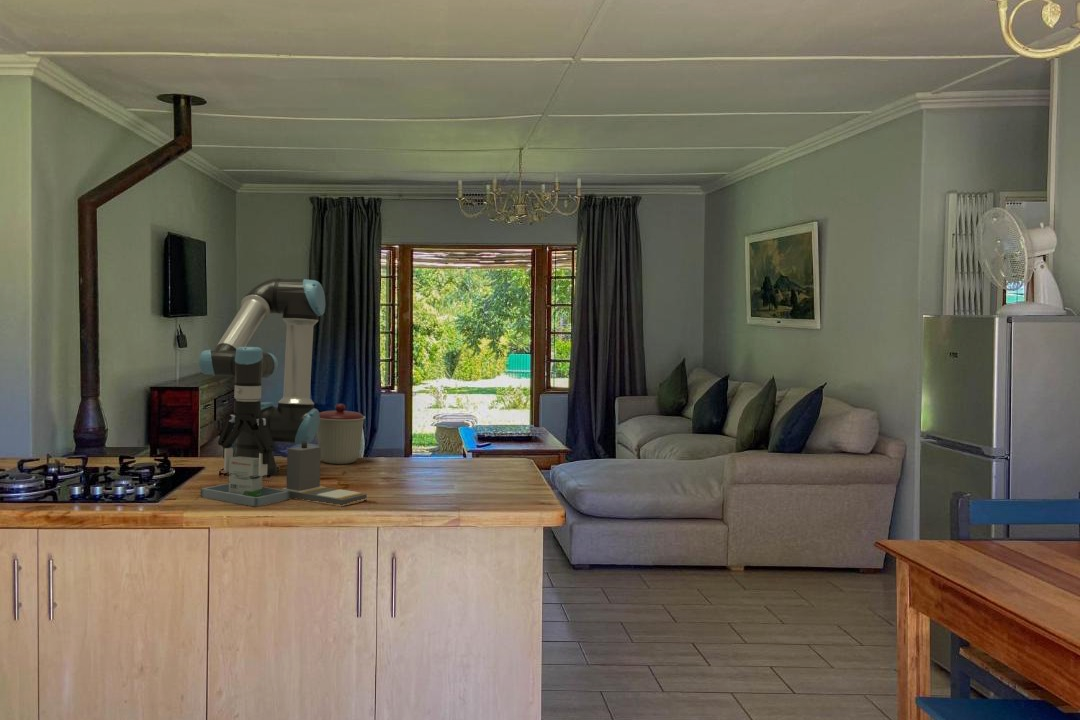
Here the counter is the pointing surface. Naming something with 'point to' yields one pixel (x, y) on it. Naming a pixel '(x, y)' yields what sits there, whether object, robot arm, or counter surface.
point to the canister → (340, 435)
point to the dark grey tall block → (303, 467)
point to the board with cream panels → (327, 495)
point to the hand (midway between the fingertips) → (245, 472)
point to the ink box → (245, 476)
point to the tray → (223, 495)
